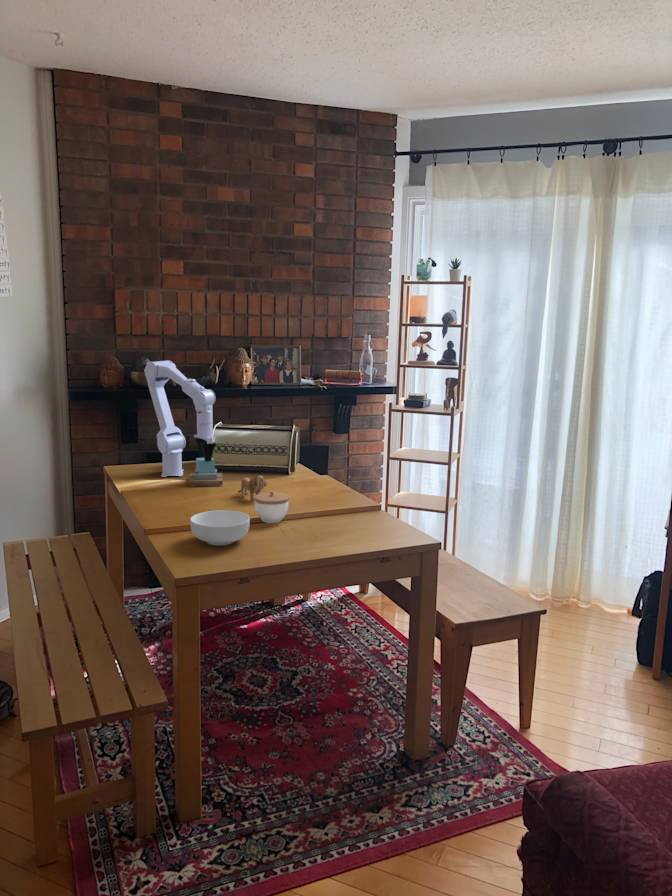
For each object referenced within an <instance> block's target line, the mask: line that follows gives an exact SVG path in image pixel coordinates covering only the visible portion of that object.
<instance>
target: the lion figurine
mask: <svg viewBox="0 0 672 896" xmlns="http://www.w3.org/2000/svg"><path fill="white" fill-rule="evenodd" d="M268 484H269V481H267V480H265V479H264V476H263V475H257V476H255V477H254V478H251V479H250V478H249V477H244V478H243V477H242V480H241V483H240V485H241V488H240V490H238V491H237V493H238V494H239V493H240V494H241V496H240V498H245V495H248V494H249V497H250V498H249V499H250V503H251V502H252V503H253V502H255V498H254V494H255V496H256V495H257V494H260V493H262V492H261V491H263V489H265V488H266V487H267V485H268ZM248 491H249V493H248Z"/></svg>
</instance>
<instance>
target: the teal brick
mask: <svg viewBox="0 0 672 896" xmlns="http://www.w3.org/2000/svg"><path fill="white" fill-rule="evenodd" d="M215 469H216V460H215V458H214V457H212V459H211V461H208V462H206V461H205V459H204V457H196V458H195V470H196V472H198V473H199V474H205V473H215Z"/></svg>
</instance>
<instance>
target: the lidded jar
mask: <svg viewBox="0 0 672 896" xmlns="http://www.w3.org/2000/svg"><path fill="white" fill-rule="evenodd" d="M253 499H254V507H255V508H254V509H255V512H256V514H257V516H258V518H260V520H261V521H262V522H263V523H266V524H277V523H280V522H282V520H283V519H284V518H285V516H286V515H287V513H288V510H289V505H290V504H289V500H290V495H289V494H286V493H285V492H278V491H273V490H270V491H267V492H260V493H259V494H257V495H256V494H255V496H253Z"/></svg>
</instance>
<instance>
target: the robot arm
mask: <svg viewBox="0 0 672 896" xmlns="http://www.w3.org/2000/svg"><path fill="white" fill-rule="evenodd" d="M145 365H146V366H145V367H144V374H145V379H146V382H147V386H148V389H149V393H150V396H151V400H152V404H153V407H154V411H155V414H156V418H157V421H158V424H159V428H160V429H159V431H158V432H157V434H156V439H157V441H156V444H157V448H158V450H159V452H160V453H161V454H162V473H161V478H163V477H164V478H168V477H167V476H179V477H183V475H184V472H185V470H184V469H183V466H182V465H183V463H182V462H183V461H182V460H183V459H182V458H183V457H182V452H183V451H184V449H185V448H186V443H187V442H186V438H185V436H184V435H183V432H182V430H181V429H180V428H179V427H178V426H175V422H174V418H173V415H172V411H171V408H170V404H169V401H168V398H167V394H166V391H165V390H166V389H165V388H164V387H165V385H166V383H168V381H169V380H172V381H174V382H175V383H176V384H178V386H179V385H180V387H181V391H182V392H183V393H185V394H186V395H187V396H189V398H191V399H192V401H193V405H194V406H195V411H196V434H193V438H194V441H195V443H196V447H197V451H198V454H199V458H204V459H205V461H206V462H208V461H211V459H212V458H213V454H214V450H215V448H216V446H217V443H216V442H214V431H213V430H214V428H213V427H214V426H213V425H214V424H213V421H214V419H213V413H214V412H213V405H214V404H215V403H216V400H217V399H216V393H215V392H214V391H213V390H212V389H210V388H209V389H206V388H205V387H204V385H203V386H202V385H201V384H200V383H198V382H197V380H196V379H194V378H188V377H186V376H185V375H184V374H183V373H182V372H181V371H180V370H179V369H178V368H177V366H176V364H175V363H173V361H171V360H169V359H167V360H159V361H158V360H157V361H148V362H147V363H146V364H145ZM183 471H184V472H183Z"/></svg>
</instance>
